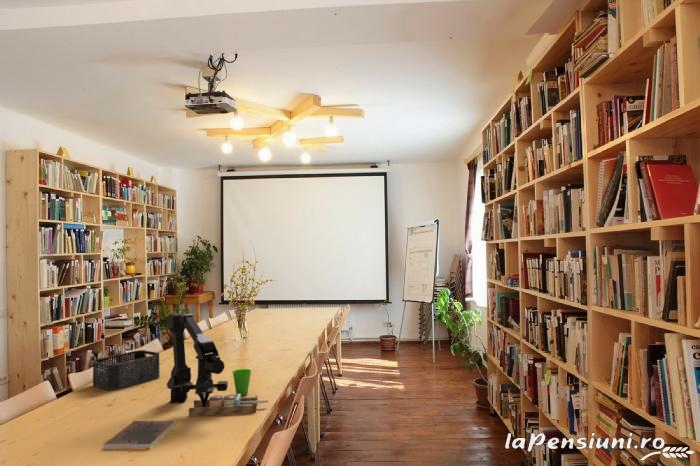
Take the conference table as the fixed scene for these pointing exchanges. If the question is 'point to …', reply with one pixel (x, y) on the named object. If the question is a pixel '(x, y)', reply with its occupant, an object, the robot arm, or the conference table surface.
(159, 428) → the picture frame
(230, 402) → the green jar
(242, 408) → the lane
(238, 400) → the pusher
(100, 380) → the storage bin
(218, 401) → the jar
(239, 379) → the cup
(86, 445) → the conference table surface
